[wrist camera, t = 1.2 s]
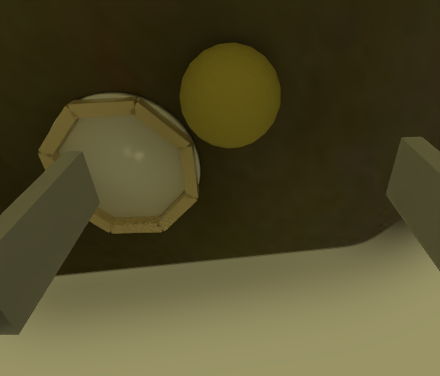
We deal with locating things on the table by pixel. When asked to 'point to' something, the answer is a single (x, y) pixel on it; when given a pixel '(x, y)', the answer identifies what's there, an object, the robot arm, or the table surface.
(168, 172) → the socket base
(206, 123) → the light bulb
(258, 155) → the table surface
